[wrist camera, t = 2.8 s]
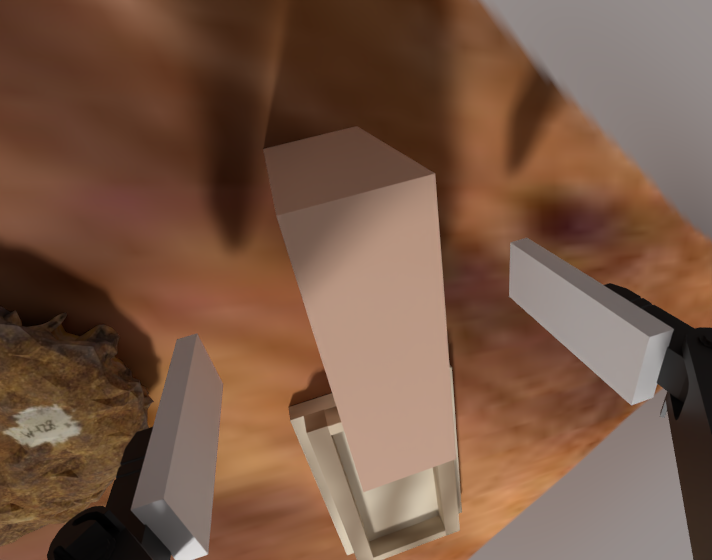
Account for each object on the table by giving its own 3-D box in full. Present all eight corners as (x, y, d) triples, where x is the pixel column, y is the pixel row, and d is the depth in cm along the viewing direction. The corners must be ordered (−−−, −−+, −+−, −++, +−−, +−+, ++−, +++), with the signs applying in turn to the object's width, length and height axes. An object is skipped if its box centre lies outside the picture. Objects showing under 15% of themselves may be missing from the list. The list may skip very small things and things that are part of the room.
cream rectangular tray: (344, 542, 32) (350, 571, 30) (288, 407, 23) (292, 437, 21) (456, 500, 33) (468, 527, 31) (444, 356, 24) (461, 381, 22)
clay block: (263, 148, 16) (276, 216, 9) (356, 125, 16) (435, 173, 10) (327, 360, 22) (363, 492, 15) (393, 339, 23) (456, 458, 16)
